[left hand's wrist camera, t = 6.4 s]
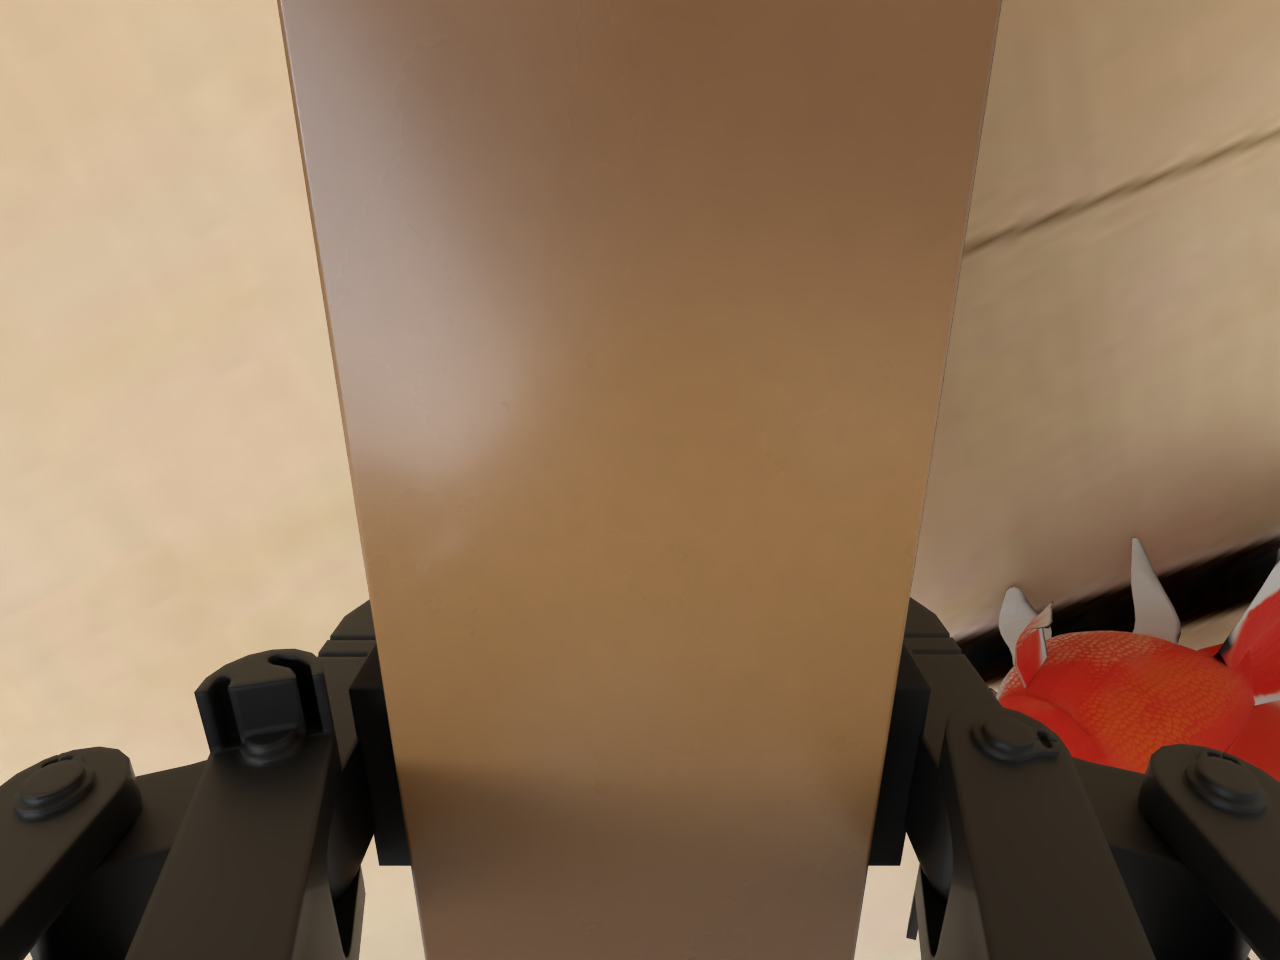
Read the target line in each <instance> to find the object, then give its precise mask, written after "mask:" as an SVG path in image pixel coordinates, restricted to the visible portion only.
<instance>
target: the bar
mask: <svg viewBox="0 0 1280 960" xmlns="http://www.w3.org/2000/svg"><path fill="white" fill-rule="evenodd" d="M277 3H278V10H279V16H280V22H281V29H282V35H283V42H284V48H285V55H286V61H287V68H288V74H289V81H290V87H291V93H292V100H293V106H294V113H295V119H296V126H297V132H298V139H299V145H300V152H301V158H302V165H303V171H304V177H305V184H306V190H307V197H308V203H309V210H310V216H311V223H312V229H313V236H314V242H315V248H316V255H317V261H318V268H319V274H320V281H321V287H322V294H323V300H324V307H325V313H326V319H327V326H328V332H329V339H330V345H331V352H332V358H333V365H334V371H335V378H336V384H337V390H338V397H339V403H340V410H341V416H342V423H343V429H344V436H345V442H346V449H347V455H348V462H349V468H350V474H351V481H352V487H353V494H354V500H355V507H356V513H357V520H358V526H359V533H360V539H361V545H362V552H363V558H364V565H365V571H366V578H367V584H368V591H369V597H370V604H371V610H372V616H373V623H374V629H375V636H376V642H377V649H378V655H379V662H380V668H381V675H382V681H383V687H384V694H385V700H386V707H387V713H388V720H389V726H390V733H391V739H392V746H393V752H394V759H395V765H396V771H397V778H398V784H399V791H400V797H401V804H402V810H403V817H404V823H405V830H406V836H407V842H408V849H409V855H410V862H411V868H412V875H413V881H414V888H415V894H416V901H417V907H418V913H419V920H420V926H421V933H422V939H423V946H424V952H425V959H426V960H854V954H855V948H856V941H857V935H858V928H859V922H860V916H861V909H862V903H863V896H864V890H865V883H866V877H867V870H868V864H869V857H870V851H871V844H872V838H873V831H874V825H875V818H876V812H877V805H878V799H879V793H880V786H881V780H882V773H883V767H884V760H885V754H886V747H887V741H888V734H889V728H890V721H891V715H892V708H893V702H894V695H895V689H896V683H897V676H898V670H899V663H900V657H901V650H902V644H903V637H904V631H905V624H906V618H907V611H908V605H909V598H910V592H911V585H912V579H913V573H914V566H915V560H916V553H917V547H918V540H919V534H920V527H921V521H922V514H923V508H924V501H925V495H926V488H927V482H928V475H929V469H930V463H931V456H932V450H933V443H934V437H935V430H936V424H937V417H938V411H939V404H940V398H941V391H942V385H943V378H944V372H945V365H946V359H947V353H948V346H949V340H950V333H951V327H952V320H953V314H954V307H955V301H956V294H957V288H958V281H959V275H960V268H961V262H962V255H963V249H964V243H965V236H966V230H967V223H968V217H969V210H970V204H971V197H972V191H973V184H974V178H975V171H976V165H977V158H978V152H979V145H980V139H981V133H982V126H983V120H984V113H985V107H986V100H987V94H988V87H989V81H990V74H991V68H992V61H993V55H994V48H995V42H996V35H997V29H998V22H999V16H1000V10H1001V3H1002V0H277Z"/></svg>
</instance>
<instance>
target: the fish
mask: <svg viewBox="0 0 1280 960" xmlns="http://www.w3.org/2000/svg"><path fill="white" fill-rule="evenodd" d="M1131 586H1132V594H1133V601H1134V607H1135V619H1136V620H1135V627H1134V631H1133V633H1130V632H1120V631H1088V632H1076V633H1068V634H1063V635H1058V636H1055V637H1052V638H1051V633H1052V632H1051V627H1050V625H1051V623H1052V603H1053V601H1052V602H1051V603H1050V604H1049V605H1048V606H1047V607H1046V608H1045V609H1044V610H1043V611H1042V612H1041V613H1040V614H1039V613H1038V612H1037V611H1036V610H1035V609H1034V608H1033V607H1032V606H1031V605H1030V603H1029V602H1028V601H1027V599H1026V598H1025V596H1024V595H1023V593H1022V592H1021V590H1020V589H1019V588H1017V587H1012V588H1009V589H1008V590H1007V592H1006V594H1005V597H1004V600H1003V603H1002V607H1001V611H1000V615H999V629H1000V633H1001V635H1002V637H1003V639H1004V641H1005V642H1006V644H1007V645H1008V647H1009V649H1010V651H1011V654H1012V658H1013V665H1014V667H1013V668H1012V669H1011V670H1010V671H1009V673H1008V674H1007V675H1006V677H1005V678H1004V679H1003V681H1002V683H1001V685H1000V688H999V690H998V692H995V691H994V690H993V689H991V688H989V689H990V690H991V692H992V693H993V694H994V696H995V697H996V698H997V700H998V701H999V703H1000V704H1001V705H1002V707H1004V708H1008V709H1012V710H1015V711H1019V712H1021V713H1023V714H1025V715H1027V716H1029V717H1031V718H1033V719H1036V720H1038V721H1040V722H1041V723H1043V724H1044V725H1045V726H1047V727H1048V728H1049V729H1050V730H1052V731H1053V732H1054V733H1056V734H1057V735H1058V736H1059V737H1060V738H1061V740H1062V741H1063V743H1064V744H1065V746H1066V747H1067V749H1068V750H1069V751H1070V754H1071V756H1072V757H1075V758H1078V759H1082V760H1085V761H1089V762H1093V763H1097V764H1102V765H1107V766H1111V767H1116V768H1120V769H1125V770H1130V771H1134V772H1139V773H1143V774H1145V773H1146V770H1147V766H1148V763H1149V760H1150V757H1151V755H1152V754H1153V753H1154V752H1155V751H1157V750H1158V749H1159V748H1160V747H1162V746H1167V745H1174V744H1189V745H1196V746H1204V747H1209V748H1212V749H1216V750H1220V751H1221V752H1226V753H1228V754H1231V755H1234V756H1236V757H1238V758H1240V759H1242V760H1244V761H1246V762H1248V763H1250V764H1252V765H1254V766H1256V767H1258V768H1260V769H1262V770H1264V771H1265V772H1266V773H1268V774H1269V775H1270V776H1272V777H1273V778H1274V779H1276V780H1277V781H1278V782H1280V548H1279V549H1278V552H1277V561H1276V565H1275V567H1274V568H1273V570H1272V572H1271V573H1270V575H1269V576H1268V578H1267V580H1266V581H1265V583H1264V585H1263V586H1262V588H1261V589H1260V591H1259V592H1258V594H1257V595H1256V597H1255V598H1254V600H1253V601H1252V603H1251V604H1250V606H1249V607H1248V609H1247V610H1246V612H1245V613H1244V614H1243V616H1242V617H1241V619H1240V620H1239V622H1238V623H1237V625H1236V626H1235V627H1234V629H1233V630H1232V632H1231V633H1230V635H1229V636H1228V638H1227V639H1226V641H1225V642H1224V643H1223V644H1220V645H1216V646H1212V647H1208V648H1204V649H1200V650H1197V651H1195V650H1192V649H1189V648H1186V647H1183V646H1180V645H1178V644H1177V643H1178V641H1179V638H1180V635H1181V627H1180V620H1179V618H1178V616H1177V614H1176V611H1175V609H1174V607H1173V605H1172V603H1171V601H1170V600H1169V598H1168V596H1167V594H1166V593H1165V591H1164V589H1163V587H1162V585H1161V583H1160V582H1159V580H1158V578H1157V576H1156V574H1155V572H1154V570H1153V568H1152V566H1151V563H1150V561H1149V559H1148V557H1147V555H1146V553H1145V550H1144V548H1143V546H1142V544H1141V542H1140V540H1139V539H1137V538H1132V562H1131Z"/></svg>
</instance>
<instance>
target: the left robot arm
mask: <svg viewBox="0 0 1280 960" xmlns="http://www.w3.org/2000/svg"><path fill="white" fill-rule="evenodd" d="M194 693H195V697H196V701H197V704H198V708H199V712H200V716H201V719H202V723H203V727H204V730H205V734H206V738H207V742H208V745H209V749H210V755H209V757H208V760H205V761H202V762H198V763H195V764H191V765H187V766H183V767H178V768H173V769H169V770H164V771H160V772H155V773H151V774H146V775H142V776H137V777H135V775H134V771H133V768H132V765H131V762H130V759H129V758H128V757H127V756H126V755H125V754H123V753H122V752H121V751H120V750H118V749H112V748H105V747H93V748H85V749H78V750H72V751H69V752H66V753H62V754H60V755H55V756H53V757H50V758H47V759H45V760H43V761H41V762H39V763H37V764H35V765H33V766H31V767H29V768H27V769H25V770H23V771H21V772H19V773H18V774H16V775H15V776H13V777H12V778H11V779H9V780H8V781H7V782H5V783H4V784H3V785H1V786H0V960H23V959H24V958H25V957H26V956H27V954H28V953H29V952H30V954H31V956H32V958H33V960H359V952H360V942H361V932H362V922H363V913H364V903H365V888H364V881H363V875H362V870H361V863H362V860H363V858H364V856H365V853H366V851H367V849H368V846H369V844H370V841H371V839H372V837H373V834H374V838H375V843H376V849H377V855H378V860H379V866H411V862H410V855H409V849H408V842H407V836H406V830H405V823H404V817H403V810H402V804H401V797H400V791H399V784H398V778H397V771H396V765H395V759H394V752H393V746H392V739H391V733H390V726H389V720H388V713H387V707H386V700H385V694H384V687H383V681H382V675H381V668H380V662H379V655H378V649H377V642H376V636H375V629H374V623H373V616H372V610H371V604H370V600H368V601H367V602H365V603H364V604H362V605H361V606H359V607H358V608H356V609H355V610H353V611H352V612H351V613H349V614H348V615H346V616H345V617H344V618H343V619H342V621H341V622H340V624H339V625H338V626H337V628H336V629H335V631H334V632H333V633H332V635H331V636H330V640H327V642H326V643H325V644H324V646H323V647H322V649H321V650H320V651H319V655H318V657H316V656H315V655H314V654H313V653H310V652H306V651H301V650H297V649H277V650H269V651H265V652H260V653H256V654H252V655H248V656H245V657H243V658H241V659H238V660H236V661H234V662H231V663H229V664H226V665H224V666H223V667H222V668H220V669H219V670H217V671H216V672H214V673H213V674H211V675H210V676H208V677H207V678H206V679H205V680H204V681H203V682H202V684H201V685H200V686H199V687H198V688H197V690H196V691H195V692H194ZM906 832H907V834H908V837H909V839H910V841H911V844H912V846H913V848H914V851H915V853H916V855H917V858H918V860H919V863H920V865H919V870H918V875H917V881H916V886H915V891H914V896H913V902H912V907H911V912H910V918H909V923H908V930H907V937H906V938H910V939H914V940H916V936H917V931H918V930H919V940H920V950H921V960H1250V959H1249V957H1248V954H1249V952H1250V950H1251V949H1252V950H1253V951H1254V952H1255V954H1256V955H1257V956H1258V957H1259V959H1260V960H1280V782H1278V781H1277V780H1276V779H1274V778H1273V777H1272V776H1270V775H1269V774H1268V773H1266V772H1265V771H1264V770H1262V769H1260V768H1258V767H1256V766H1254V765H1252V764H1250V763H1248V762H1246V761H1244V760H1242V759H1240V758H1238V757H1236V756H1234V755H1231V754H1228V753H1226V752H1221V751H1220V750H1216V749H1212V748H1209V747H1204V746H1196V745H1189V744H1174V745H1167V746H1162V747H1160V748H1159V749H1158V750H1157V751H1155V752H1154V753H1153V754H1152V755H1151V757H1150V760H1149V763H1148V766H1147V770H1146V773H1145V774H1143V773H1139V772H1134V771H1130V770H1125V769H1120V768H1116V767H1111V766H1107V765H1102V764H1097V763H1093V762H1089V761H1085V760H1082V759H1078V758H1075V757H1072V756H1071V754H1070V751H1069V750H1068V749H1067V747H1066V746H1065V744H1064V743H1063V741H1062V740H1061V738H1060V737H1059V736H1058V735H1057V734H1056V733H1054V732H1053V731H1052V730H1050V729H1049V728H1048V727H1047V726H1045V725H1044V724H1043V723H1041V722H1040V721H1038V720H1036V719H1033V718H1031V717H1029V716H1027V715H1025V714H1023V713H1021V712H1019V711H1015V710H1012V709H1008V708H1004V707H1002V705H1001V704H1000V703H999V701H998V700H997V698H996V697H995V696H994V694H993V693H992V692H991V690H990V689H989V687H988V686H987V685H986V683H985V682H984V681H983V679H982V678H981V676H980V675H979V674H978V672H977V671H976V670H975V668H974V667H973V665H972V664H971V663H970V661H969V660H968V659H967V657H966V656H965V654H962V653H961V649H960V648H959V646H958V645H957V643H956V642H955V641H954V639H953V638H950V636H949V632H948V631H947V630H946V628H945V627H944V626H943V624H942V623H941V621H940V620H939V619H938V617H937V616H936V615H935V614H934V613H933V612H931V611H930V610H928V609H927V608H925V607H924V606H922V605H921V604H919V603H918V602H917V601H915V600H914V599H912V598H911V597H910V598H909V605H908V611H907V618H906V624H905V631H904V637H903V644H902V650H901V657H900V663H899V670H898V676H897V683H896V689H895V695H894V702H893V708H892V715H891V721H890V728H889V734H888V741H887V747H886V754H885V760H884V767H883V773H882V780H881V786H880V793H879V799H878V805H877V812H876V818H875V825H874V831H873V838H872V844H871V851H870V857H869V864H868V866H900V863H901V858H902V852H903V846H904V841H905V835H906Z"/></svg>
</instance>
